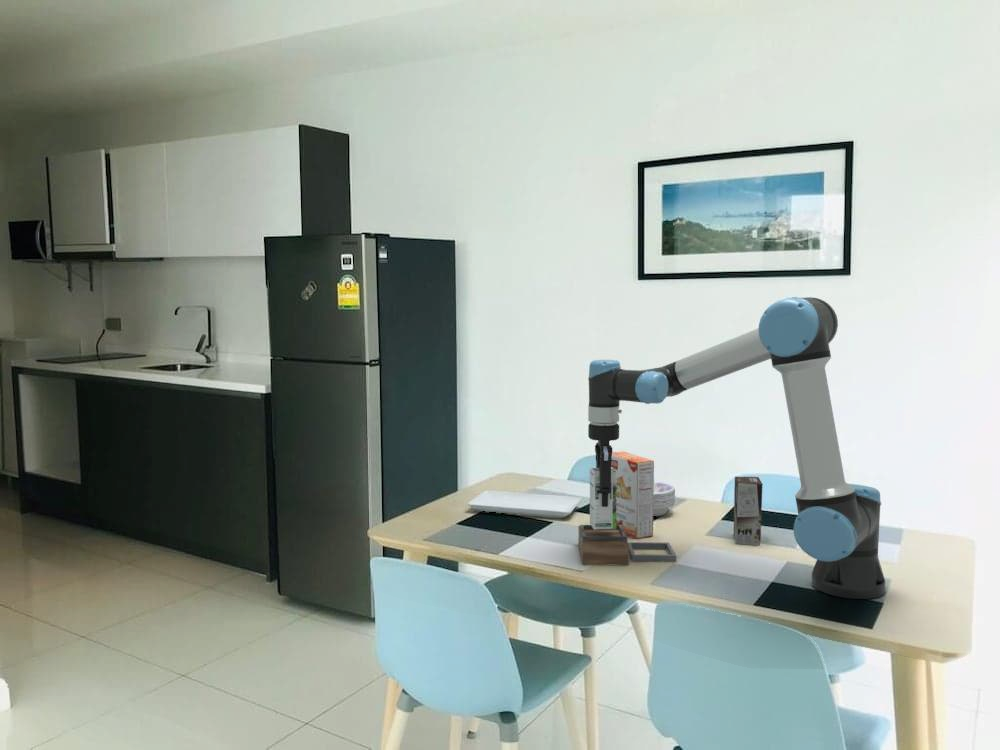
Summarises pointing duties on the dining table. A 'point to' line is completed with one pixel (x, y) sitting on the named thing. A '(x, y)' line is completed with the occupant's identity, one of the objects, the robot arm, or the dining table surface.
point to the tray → (525, 504)
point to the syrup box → (594, 501)
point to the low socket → (651, 558)
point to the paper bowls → (662, 498)
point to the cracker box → (634, 493)
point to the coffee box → (747, 510)
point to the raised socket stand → (603, 545)
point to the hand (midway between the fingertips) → (602, 515)
